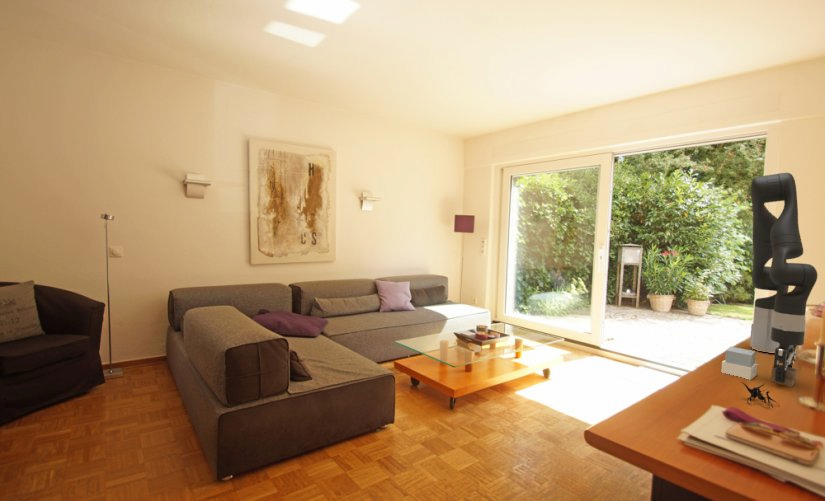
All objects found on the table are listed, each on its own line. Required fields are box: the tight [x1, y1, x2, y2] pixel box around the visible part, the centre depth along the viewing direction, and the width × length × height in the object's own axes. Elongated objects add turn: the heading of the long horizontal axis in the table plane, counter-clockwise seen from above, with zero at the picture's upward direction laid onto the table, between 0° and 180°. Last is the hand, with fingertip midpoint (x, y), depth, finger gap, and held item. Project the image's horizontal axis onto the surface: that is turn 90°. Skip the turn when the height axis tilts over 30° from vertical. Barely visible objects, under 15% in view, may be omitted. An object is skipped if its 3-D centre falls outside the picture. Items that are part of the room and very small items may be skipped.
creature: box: [741, 381, 781, 409], centre depth 109 cm, size 8×5×8 cm
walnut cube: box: [770, 366, 798, 388], centre depth 124 cm, size 5×5×5 cm
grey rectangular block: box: [724, 346, 757, 368], centre depth 131 cm, size 6×6×4 cm
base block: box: [720, 359, 758, 381], centre depth 131 cm, size 8×8×4 cm
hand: (783, 378), depth 124 cm, fingers open, 8 cm apart
